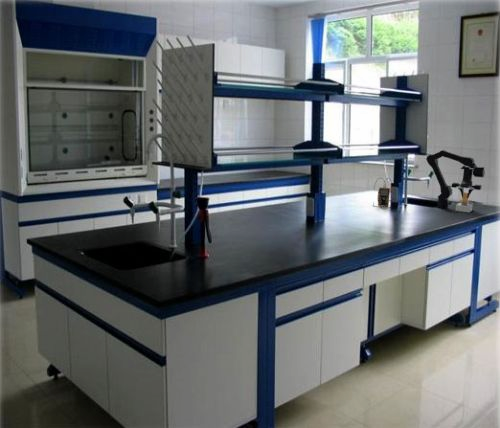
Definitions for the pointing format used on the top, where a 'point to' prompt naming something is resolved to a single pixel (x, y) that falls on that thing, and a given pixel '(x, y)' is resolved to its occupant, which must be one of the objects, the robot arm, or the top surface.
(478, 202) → the clip
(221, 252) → the top surface
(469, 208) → the socket block
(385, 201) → the multimeter
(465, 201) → the plug
